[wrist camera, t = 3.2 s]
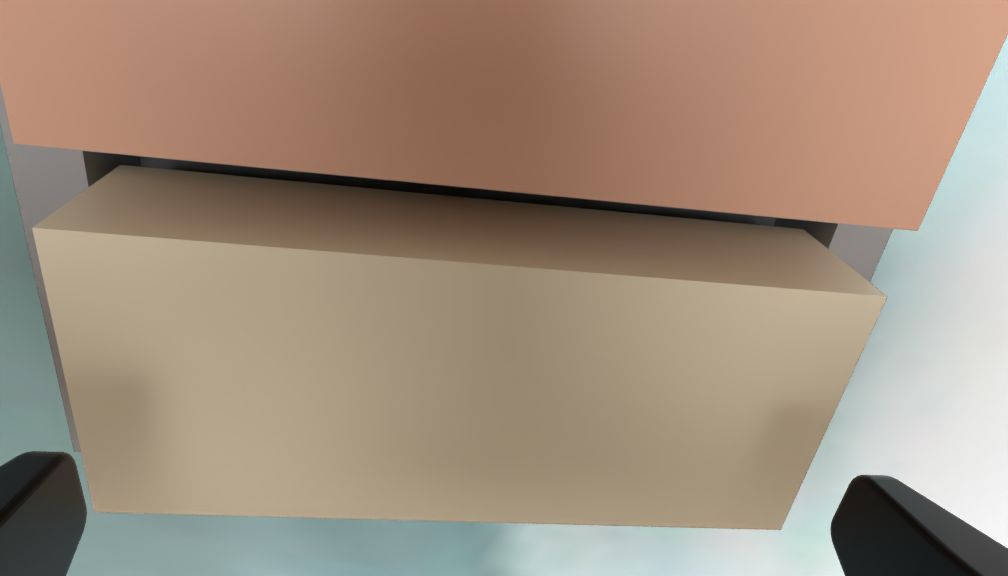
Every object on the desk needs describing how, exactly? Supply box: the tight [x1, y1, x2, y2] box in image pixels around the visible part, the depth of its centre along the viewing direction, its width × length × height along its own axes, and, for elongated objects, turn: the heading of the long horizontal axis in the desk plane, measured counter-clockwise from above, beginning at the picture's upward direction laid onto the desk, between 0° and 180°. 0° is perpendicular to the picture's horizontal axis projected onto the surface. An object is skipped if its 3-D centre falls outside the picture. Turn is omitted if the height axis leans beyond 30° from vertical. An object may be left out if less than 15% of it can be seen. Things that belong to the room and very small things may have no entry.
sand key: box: [32, 165, 887, 530], centre depth 10 cm, size 11×5×2 cm, turn 83°
